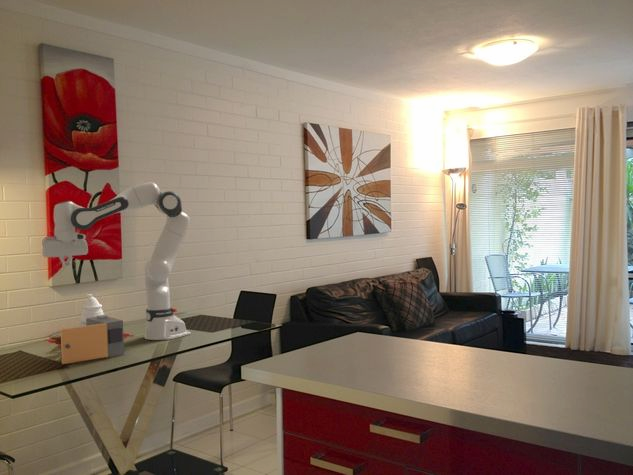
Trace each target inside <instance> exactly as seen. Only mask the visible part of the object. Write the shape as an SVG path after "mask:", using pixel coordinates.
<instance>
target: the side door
mask: <svg viewBox="0 0 633 475" xmlns="http://www.w3.org/2000/svg"><path fill="white" fill-rule="evenodd" d="M60 346H61V347H60V350H61V351H60V352H61V364H62V365H65V364H71V363H77V362H83V361H89V360H95V359H102V358H103V359H104V358H105V357H108V346H107V324H106V323H104V324H96V325H89V326H81V327H80V326H75V327H66V328H60Z"/></svg>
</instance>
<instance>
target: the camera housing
mask: <svg viewBox="0 0 633 475" xmlns="http://www.w3.org/2000/svg"><path fill="white" fill-rule="evenodd" d="M104 323H106V324H107V346H108V357H110V358H114V356H115V357H120V356H123V355H125V345H124V344H125V343H124V341H125V340H124V320H123V319H119V318H114V317H110V316H108V315H107V314H104V315H97V317H91V318H86V326H89V325H96V324H104ZM108 357H106V358H105V359H109V358H108Z"/></svg>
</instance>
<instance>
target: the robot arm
mask: <svg viewBox="0 0 633 475" xmlns="http://www.w3.org/2000/svg"><path fill="white" fill-rule="evenodd" d="M150 205H151V206H152V205H153V206H155V208H157V210H158V211H159V212H160V213H162V214H164V215H166V222H165V224H164V226H163V229H162V230H161V233H160V235H159V237H158V239H157V242H156V244H155V246H154V249H153V252H152V255H151V257H150V258H149V259H148V260H147V261H146V262H145V265H144V280H145V292H146V295H145V296H146V309H145V318H146V327H145V333H144V339H145V340H149V341H150V340H152V341H160V340H162V341H163V340H165V341H167V340H168V341H169V340H173V339H178V338H181V337H184V336H189V335H191V331H190V330H188V329H187V328H186V323H185V322H184V321H183V320H182V319H181V318H179V317H178V316H176V315H175V314H174V313H177V312H178V309H177V308H175V307H173V308H172V307H171V292H170V284H169V276H170V273H171V272H172V270H173V267H174V264H175V261H176V258H177V255H178V252H179V250H180V248H181V246H182V244H183V242H184V239H185V237H186V235H187V232H188V229H189V226H190V221H191V220H190V216H189V215H188V214H187V213H185V212H184V211H183V210H182V209H183V208H182V200H181V197H180V196H179V195H178V194H177V193H176V192H174V191H165V192H164V191H161V189H160V187H159V186H158V185H157V184H156V183H154V182H153V181H147V182H142V183H139V184H136V185H133V186H131V187H129V188H126V189H124V190H123V191H121V192H120V193H118V194H117V195H116V196H115V197H114V198H112V199H110V200H109V201H106V202H103V203H101V204H98V205H95V206H93V207H83V206H81V205H78V204H76V203H75V202H73V201H71V200H67V201H61V202H58V203H56V204H55V205H54V208H53V222H54V232H53V233H54V236H49V237H48V236H46V237H45V236H44V237H45V238H43V239H42V243H41V245H42V254H41V255H42V257H44V258H56V257H58V258H59V260H60V262H61V265H62V267H68V266H70V265H71V261H72V259H73V256H82V255H83V256H84V255H85V256H86V255H87V254H89V248H88V242H87V240H86V235H85V234H83V233H79V232H76V229H77V230H79V231H86V230H88V229H90V228H91V227H93V225H95V223H97V221H99V220H102V219H105V218H107V217H109V216H112V215H114V214H118V213H130V212H134V211H138V210H140V209H142V208H145V207H148V206H150ZM65 257H66V258H67V261H65Z"/></svg>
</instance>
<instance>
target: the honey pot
mask: <svg viewBox="0 0 633 475" xmlns="http://www.w3.org/2000/svg"><path fill="white" fill-rule="evenodd" d="M86 296H87V299H86V302H85V303H84V305H82V306H81V308H82V312H81V315H80V317H79V327H81V326H86V318H91V317H97V315H105V313H104V310H103V308H102V307H103V305H102V304H101V303H100V302H99V301H98V299H97V298H96V297H95V296H93V294H92V293H89V294H86Z"/></svg>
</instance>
